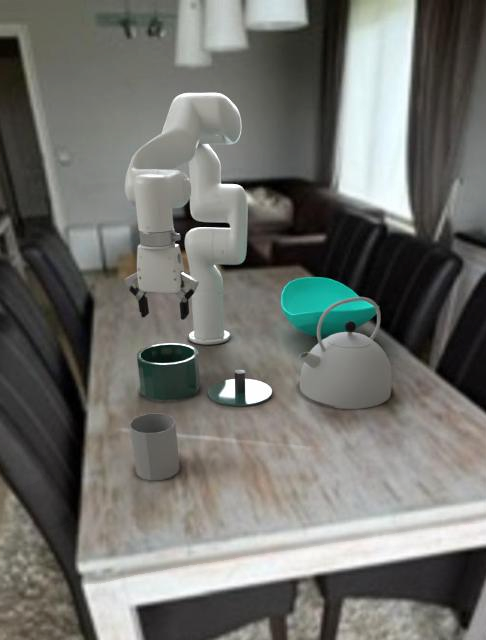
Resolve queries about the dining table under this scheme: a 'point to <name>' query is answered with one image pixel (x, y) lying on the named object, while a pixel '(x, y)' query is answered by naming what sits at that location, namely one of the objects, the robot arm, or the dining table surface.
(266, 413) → the dining table surface
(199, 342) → the robot arm
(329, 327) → the table top decor
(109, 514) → the dining table surface
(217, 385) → the pot lid
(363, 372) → the kettle
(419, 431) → the dining table surface
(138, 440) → the cup
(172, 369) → the pot
